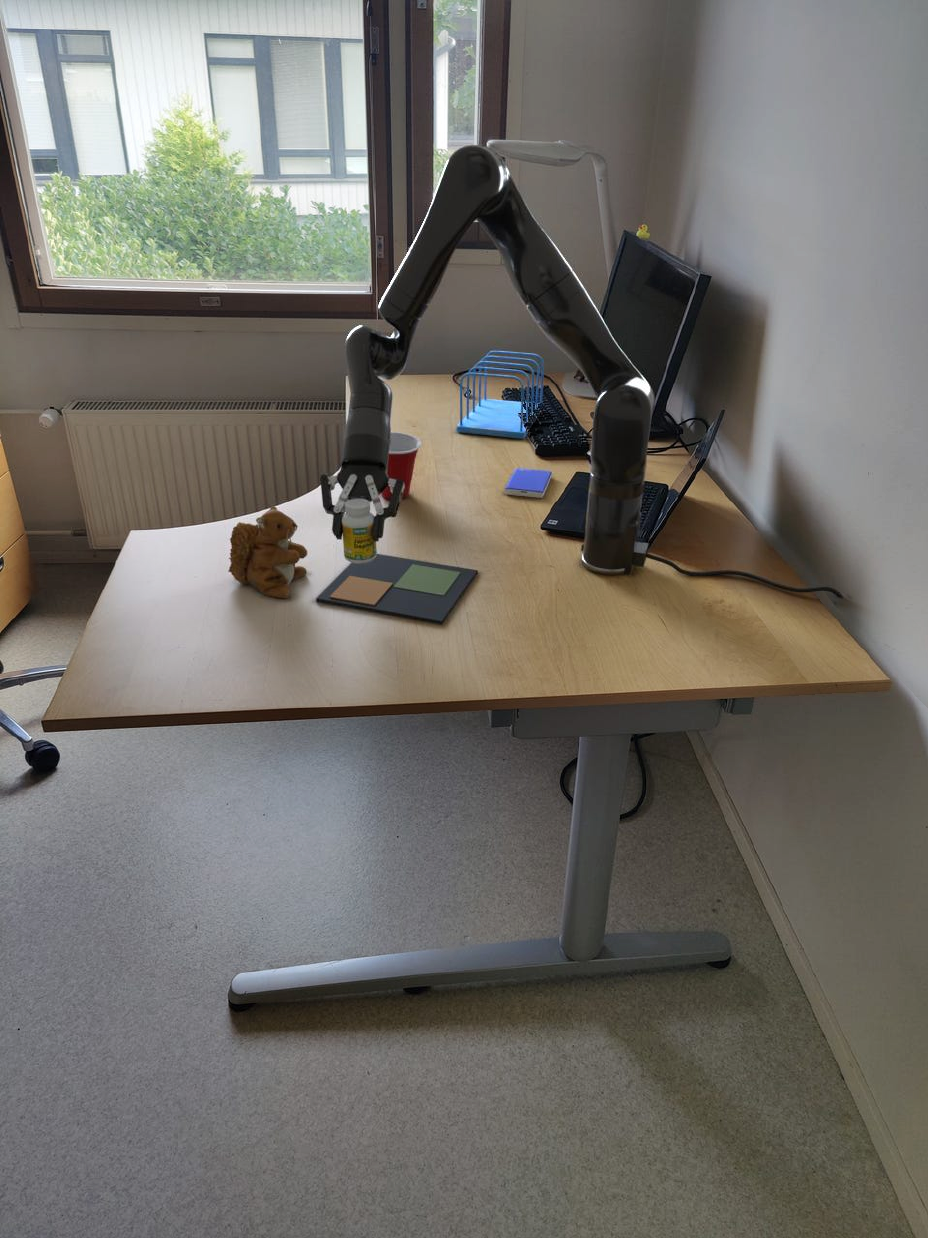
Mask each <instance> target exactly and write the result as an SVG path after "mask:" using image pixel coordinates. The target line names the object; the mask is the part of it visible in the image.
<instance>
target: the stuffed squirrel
mask: <svg viewBox="0 0 928 1238" xmlns="http://www.w3.org/2000/svg"><path fill="white" fill-rule="evenodd" d="M255 522H256V524H252V523H251V522H250V523H249V522H248V523H245V522H240V521H239V522H238V523H237V524H236V526H234V527H232V531H231V533H230V534H231V537H230V538H229V541H230V545H231V548H230V552H229V555H230V557H228V559H229V560H230V561H229V562H230V566H229V567H228V568H229V569H228V570H227V572H229V573H231V576H233V578H234V579H235V581H237V582H238V583H239V584H243V585H248V584H251V585H252V586H254V588H255V589H257V590H258V591H259V592H260V593H261V594H263V595H264V596H267V597H273V598H279V599H288V598H290V597H291V595H292V591H291V588H290V586H289V585H290V583H291V582H292V581H293V580H296V579H298V578H301V577H304V576H306V575H307V574H308V571H307V569H306V567H304V566H302V565H297V566H296V564H297V563H298V562H299V561H300V559H301V560H303V559H305V558H306V557H307V556H308V550H307V548H306V547H305V546H304V545H303V544H301V543H296V542H293V541H292V537H293V536H294V534H295V533H296V532H297V531H298V528H299V526H298V525H297V523H296V522H295V520H294V519H293V518H291V517H290V516H288V515H287V514H286V513H284V512H283V511H281V510H278V508H277V507H276V506H275V505H274V506H271V507H270V509H268V510H267V511H266V512H264V513H263V514H262V515H261V516H258V517H257V518H256V519H255Z"/></svg>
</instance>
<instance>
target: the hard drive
mask: <svg viewBox="0 0 928 1238" xmlns="http://www.w3.org/2000/svg"><path fill="white" fill-rule="evenodd" d="M552 475H553V471H550V470H544V469H543V470H542V469H532V468H522V467H516V468H515V469H514V471H513V473H512V474H511V476H510V478H509V481H508V482H507V484H506V486H505V488H504V494H505V495H508V496H520V497H527V498H537V499H542V498H543V497H544V495H545V493H546V490H547V488H548V487H549V484H550V481H551V479H552Z"/></svg>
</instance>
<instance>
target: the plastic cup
mask: <svg viewBox="0 0 928 1238" xmlns="http://www.w3.org/2000/svg"><path fill="white" fill-rule="evenodd" d="M390 439H391V443H390V446H389V457H388V468H387V475H388V477H389V478H391V479H396V480H397V479H398V478H401V479H403V481H404V485H405V489H404V493H403V496H402V499H401V500H403V499H405V498H408V496H409V494H410V489H411V484H412V480H413V479H412V478H413V476H414V475H413V474H414V469H415V461H416V459H417V454H418V451H419V449H420V448H421V446H422V443H421V440H420V439H419V438H418V437H417V436H414V435H412V434H410V433H405V432H399V431H391V436H390ZM380 495H381V497H383V498H384V499H386V500H390V499H391V496H392V492H391V490H390V486H389V485H388V486H387V487H386V488H385V489H384V490H383V492H382V493H381V494H380Z"/></svg>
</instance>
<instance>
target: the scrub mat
mask: <svg viewBox="0 0 928 1238" xmlns="http://www.w3.org/2000/svg"><path fill="white" fill-rule="evenodd" d="M478 573H479V572H478V569H473V568H467V567H461V566H460V567H459V566H455V565H454V566H453V565H446V564H442V563H437V562H429V561H425V560H424V561H423V560H417V559H411V558H404V557H399V556H392V555H387V554H382V553H381V554H380V553H377V555H376V557H375V558H374V559H373V560H372V561H370V562H368V563H361V564H357V563H352V562H350V563H349V564H348V566H347V567H345V569H344V570H342V571H341V572H340V574H339V575H337V577H336V578H335V579H334V580H333V581H331V583H330V584H329V585H328V586H327V587H326V588H325V589H323V590H322V592H321V593H320V594H318V596H317V597H316V599H315V602H317V603H323V604H327V605H333V606H339V607H344V608H349V609H356V610H361V611H368V612H372V613H378V614H384V615H387V616H388V615H389V616H395V617H401V618H405V619H410V620H417V621H422V622H427V623H433V624H439V625H443V623H444V622H445V621H446V619H447V618H448V616H449V615H450V613H451V612H452V611H453V609H454V608H455V606H456V605H457V603H458V602H459V600H460V599H461V598H462V596H463V595H464V594H465V592H466V591H467V589H468V588H469V586H470V585H471V584H472V582H473V580H474V579H475V577H477V575H478Z"/></svg>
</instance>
